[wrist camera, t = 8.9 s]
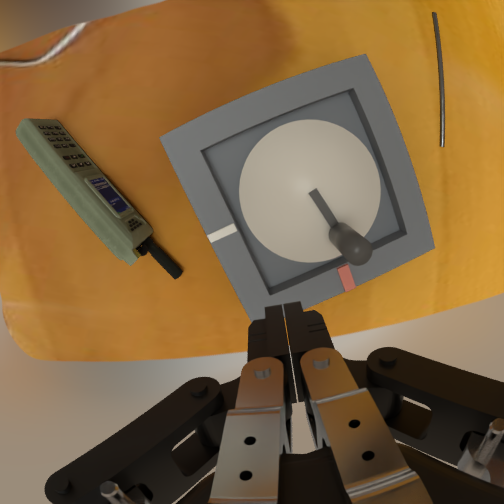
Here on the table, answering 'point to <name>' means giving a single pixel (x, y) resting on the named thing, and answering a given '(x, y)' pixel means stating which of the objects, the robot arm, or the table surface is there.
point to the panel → (238, 149)
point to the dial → (311, 192)
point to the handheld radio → (90, 192)
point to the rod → (440, 80)
